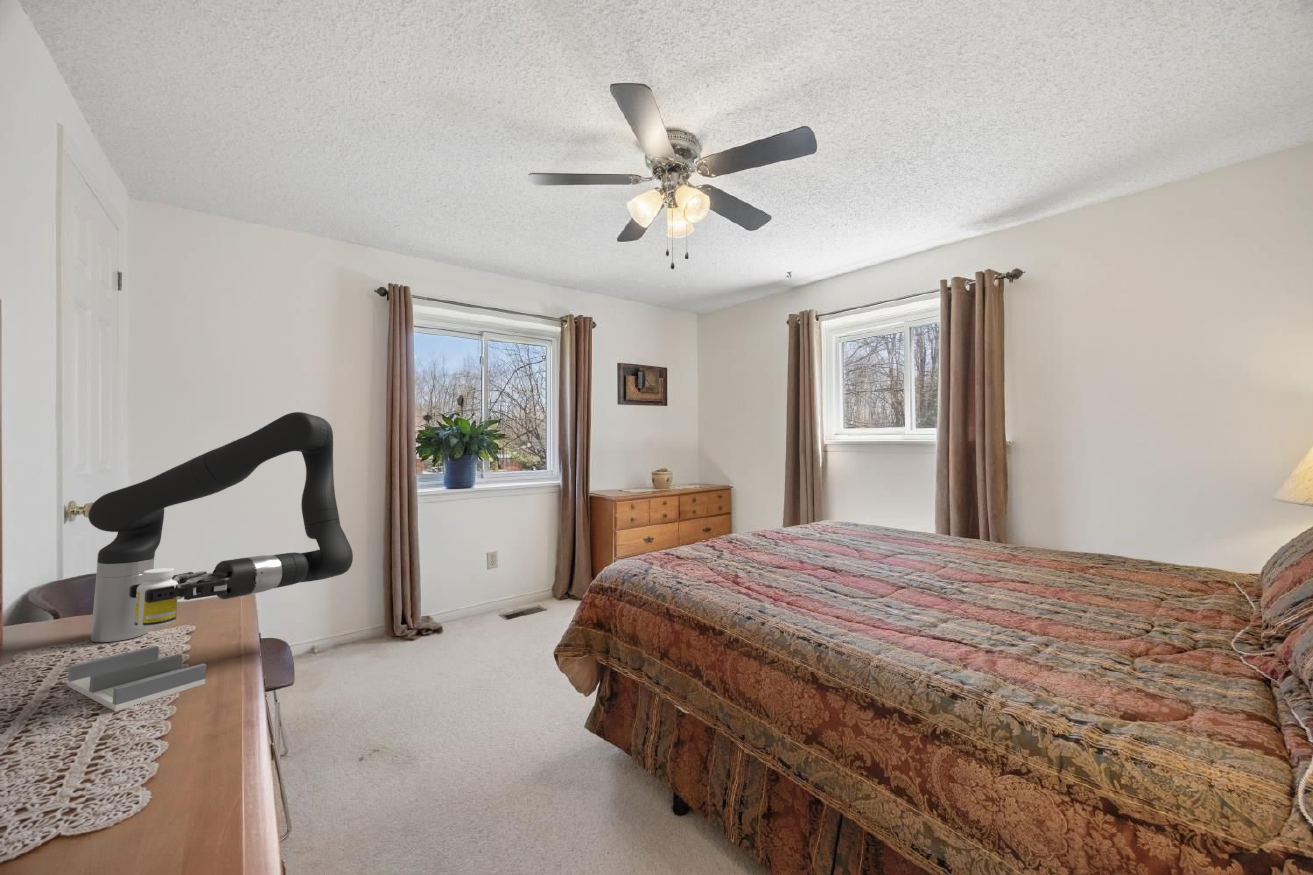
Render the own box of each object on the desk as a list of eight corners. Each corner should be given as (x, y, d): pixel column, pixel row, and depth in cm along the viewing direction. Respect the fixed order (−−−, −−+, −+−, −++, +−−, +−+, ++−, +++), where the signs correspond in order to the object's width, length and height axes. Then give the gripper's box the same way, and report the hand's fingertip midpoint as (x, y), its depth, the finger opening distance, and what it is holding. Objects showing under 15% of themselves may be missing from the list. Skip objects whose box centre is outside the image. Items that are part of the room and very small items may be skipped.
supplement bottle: (184, 621, 95) (187, 567, 95) (152, 630, 89) (156, 574, 90) (157, 619, 95) (161, 566, 96) (124, 629, 90) (128, 572, 90)
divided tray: (67, 685, 92) (68, 665, 92) (154, 663, 103) (156, 645, 103) (115, 711, 84) (117, 689, 84) (205, 683, 95) (206, 664, 95)
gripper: (230, 553, 109) (120, 568, 93) (269, 561, 102) (158, 577, 87) (228, 589, 108) (118, 609, 93) (267, 599, 102) (156, 622, 87)
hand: (138, 594), depth 90 cm, fingers closed on supplement bottle, 5 cm apart
